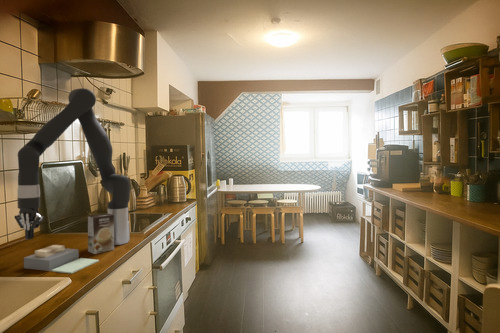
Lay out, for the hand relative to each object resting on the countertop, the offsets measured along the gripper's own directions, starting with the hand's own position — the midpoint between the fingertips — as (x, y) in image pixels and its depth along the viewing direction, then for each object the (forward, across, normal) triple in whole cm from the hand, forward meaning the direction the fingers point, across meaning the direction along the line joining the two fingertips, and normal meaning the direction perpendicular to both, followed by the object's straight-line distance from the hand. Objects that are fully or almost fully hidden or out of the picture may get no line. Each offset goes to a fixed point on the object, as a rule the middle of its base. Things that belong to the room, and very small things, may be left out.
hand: (29, 238), depth 128 cm
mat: (+9, -22, 0) cm, 24 cm away
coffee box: (+9, -18, -19) cm, 28 cm away
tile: (+5, -10, 0) cm, 11 cm away
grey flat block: (+9, -11, 0) cm, 14 cm away
